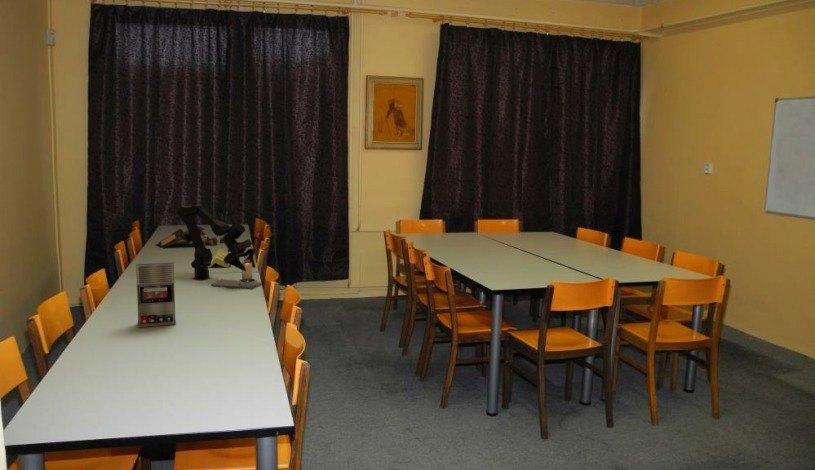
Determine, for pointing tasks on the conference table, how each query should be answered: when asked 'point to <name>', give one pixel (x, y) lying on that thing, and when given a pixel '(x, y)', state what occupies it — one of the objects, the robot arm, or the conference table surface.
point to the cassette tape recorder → (155, 293)
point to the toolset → (185, 238)
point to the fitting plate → (237, 284)
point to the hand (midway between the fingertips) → (249, 268)
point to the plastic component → (219, 258)
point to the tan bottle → (247, 271)
